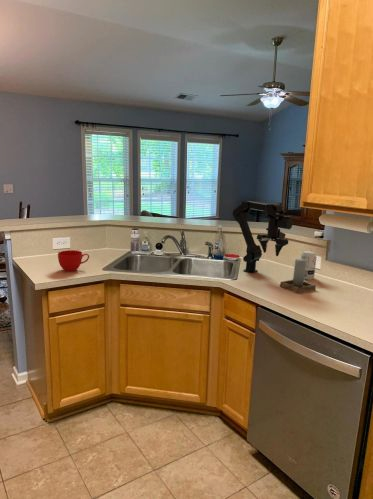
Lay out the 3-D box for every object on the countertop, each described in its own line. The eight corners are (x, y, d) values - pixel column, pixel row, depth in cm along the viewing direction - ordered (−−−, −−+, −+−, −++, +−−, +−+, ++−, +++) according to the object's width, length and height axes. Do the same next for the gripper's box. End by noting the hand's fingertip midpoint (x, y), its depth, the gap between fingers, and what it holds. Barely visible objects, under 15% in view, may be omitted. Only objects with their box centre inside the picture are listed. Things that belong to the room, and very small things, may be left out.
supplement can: (298, 275, 212) (300, 250, 208) (313, 276, 210) (315, 251, 207) (299, 279, 204) (302, 253, 201) (314, 280, 202) (317, 254, 199)
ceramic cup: (91, 271, 204) (91, 254, 202) (60, 274, 197) (59, 256, 195) (87, 265, 216) (86, 249, 214) (57, 268, 208) (56, 251, 206)
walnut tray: (280, 286, 190) (280, 281, 189) (296, 283, 196) (296, 278, 196) (299, 293, 180) (299, 288, 179) (315, 289, 186) (315, 285, 186)
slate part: (294, 284, 191) (297, 258, 188) (304, 286, 189) (307, 260, 185) (291, 286, 187) (293, 260, 184) (301, 289, 184) (304, 262, 181)
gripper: (296, 228, 197) (293, 256, 200) (271, 223, 212) (268, 249, 216) (282, 229, 191) (279, 258, 194) (257, 224, 206) (255, 251, 210)
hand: (270, 254), depth 204 cm, fingers open, 9 cm apart
